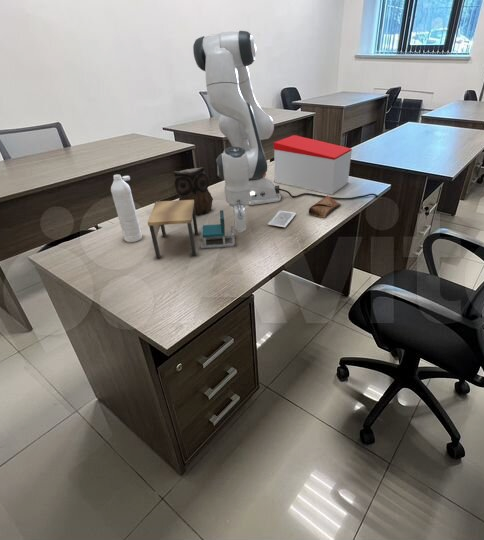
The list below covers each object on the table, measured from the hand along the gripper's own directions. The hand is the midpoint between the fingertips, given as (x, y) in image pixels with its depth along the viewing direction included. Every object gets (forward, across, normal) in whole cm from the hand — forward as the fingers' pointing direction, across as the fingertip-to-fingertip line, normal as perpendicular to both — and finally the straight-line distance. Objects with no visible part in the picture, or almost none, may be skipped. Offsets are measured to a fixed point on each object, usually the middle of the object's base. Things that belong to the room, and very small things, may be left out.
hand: (240, 230), depth 129 cm
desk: (+4, 0, +23) cm, 24 cm away
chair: (+4, 0, +9) cm, 10 cm away
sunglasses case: (+4, +24, -40) cm, 47 cm away
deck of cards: (+4, +16, -19) cm, 25 cm away
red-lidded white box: (+4, +62, -42) cm, 75 cm away
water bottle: (+5, +8, +40) cm, 41 cm away
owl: (+5, +32, +18) cm, 37 cm away
